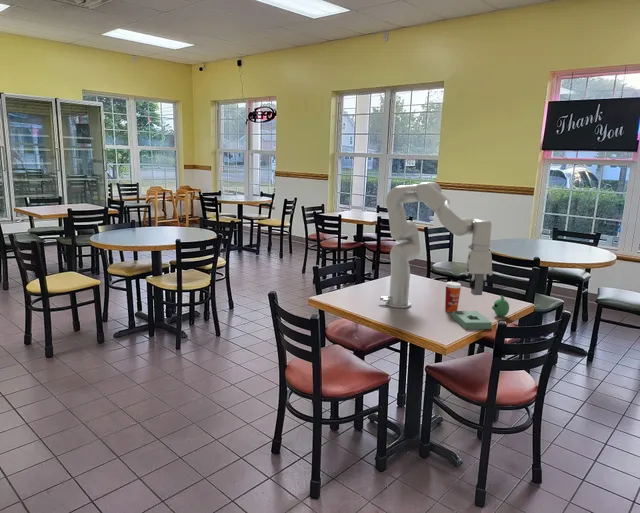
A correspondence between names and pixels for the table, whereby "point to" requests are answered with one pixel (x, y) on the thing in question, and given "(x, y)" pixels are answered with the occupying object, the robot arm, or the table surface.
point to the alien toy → (501, 307)
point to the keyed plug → (478, 284)
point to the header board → (471, 320)
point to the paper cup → (452, 296)
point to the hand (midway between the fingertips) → (476, 288)
